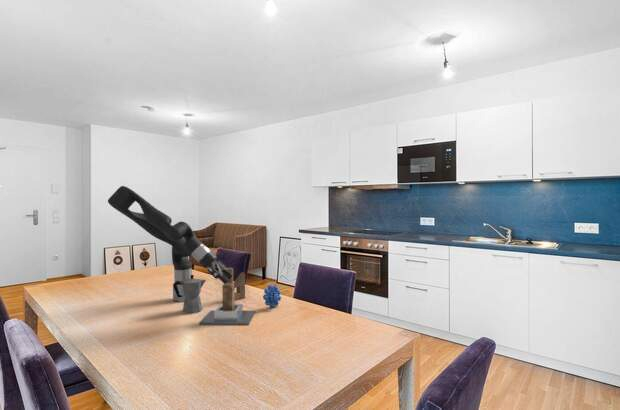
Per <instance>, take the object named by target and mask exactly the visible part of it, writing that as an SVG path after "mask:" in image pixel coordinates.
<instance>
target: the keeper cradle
mask: <svg viewBox="0 0 620 410" xmlns="http://www.w3.org/2000/svg"><path fill="white" fill-rule="evenodd" d="M255 315H256V310H243V303H235V310H223V303H221V304H219V306H218V307H217V308H216V309H215V310H211V309H210V311H208V313H207V314H205V316H204V317H203V318H202V319H201V320H200V321H199V326H200V325H201V326H207V325H208V326H210V325H211V326H215V325H216V326H217V325H220V326H223V325H224V326H231V325H232V326H234V325H235V326H249V325H250V323H251V321H252V320H253V318H254V316H255Z"/></svg>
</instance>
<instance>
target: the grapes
mask: <svg viewBox="0 0 620 410" xmlns="http://www.w3.org/2000/svg"><path fill="white" fill-rule="evenodd" d="M263 292H264V294H263V295H262V298H263V300H264V301H265V302H264V304H265V306H269V307H270V308H271V309H272V308H274V307H277V306H279V303H280V301H281V300H282V296H281V293H282V292H281V289H279V288H278V285H275V284H273V285H272V284H269V285H268V287H267V288H265V289H264V291H263Z"/></svg>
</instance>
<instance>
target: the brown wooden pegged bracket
mask: <svg viewBox="0 0 620 410" xmlns="http://www.w3.org/2000/svg"><path fill="white" fill-rule="evenodd" d="M227 271H228V272H229V273H230V274H232V277H231V278H230V279H228V278H227V277H226V278H227V279H228V282H227V283H234V287H235V288H236V291H235V301H238V300H243V299H246V273H245V272H242V271H241V272H240V273H239V275H237V277H236V279H235V281H234V268H233V267H227Z"/></svg>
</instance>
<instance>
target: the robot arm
mask: <svg viewBox="0 0 620 410" xmlns="http://www.w3.org/2000/svg"><path fill="white" fill-rule="evenodd" d="M135 202H136V203H137V204H138V205H139V206H140V208H141V211H142V212H136V211H133V210H130V208H131V206H132V205H133V204H135ZM107 203H108V204H109V206H111V207H112V208H114V209H115V210H116V211H118V212H120V214H122V215H124V216H125V217H126V218H128V219H130V220H132V222H134V223H136V224H137V225H138V226H139V227H141V228H142V229H143V230H145V232H147V233H148V234H150V236H152V237H154V238H156V239H158V240H159V241H161V242H163V243H166V244H168V245H169V246H171V261H172V266H173V269H174V270H173V273H174V276H173V278H174V279H173V281H174V282H173V283H172V285H173V284H174V283H175V282H176V281H184V280H187V279H191V276H190V275H193V264H192V262H191V261H190V260H189V258H188V257H190V256H192V257H193V259H194V260H195V261H197V263H198V264H199V265H201V266H202V267H203V268H204V269H207V272H208V273H210V275H211V276H213V278H215V279H214V280H220V281H221V282H222V283H223V284H226V283H227V282H228V279H230V278H231V277H232V274H230V273H229V272H228V271H227V268H228V267H227V266H226V265H225V264H224V263H223V262H222V261H221V260H220V259H218V260H216V259H217V258H218V256H217V255H216V254H215V253H214V252H213V251H212V250H211V249H210V248H209V247H207V246H206V245H205V244H204V243H203V242H202V241H201V240H199V238H198V237H197V235H196V234H195V232H194V231H193V229H192V228H191V226H190V225H189V224H188V223H187V222H185V221H178V222H176V223H175V224H173V225H172V222H173V221H172V218H171V217H170V216H169V215H167V214H166V213H164V212H162V211H160V210H159V209H158V208H157V207H155V206H154V205H152V204H151V203H149V201H147V200H146V199H144V197H142V196H141V195H140V194H138V193H137V192H136V191H134V190H133V189H131V188H129V187H128V186H125V185H121V186H119V187H118V188H117V189H116V191H114V193H112V194H111V196H110V197H109V198H108V200H107ZM227 278H228V279H227ZM177 287H178V291H179V295H182V297H177V295H176V292H175V289H174V287H173V286H172V301H173V302H174V301H175V302H178V303H180V302H183V303H184V300H185V295H184V290H183V285H177Z"/></svg>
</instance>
